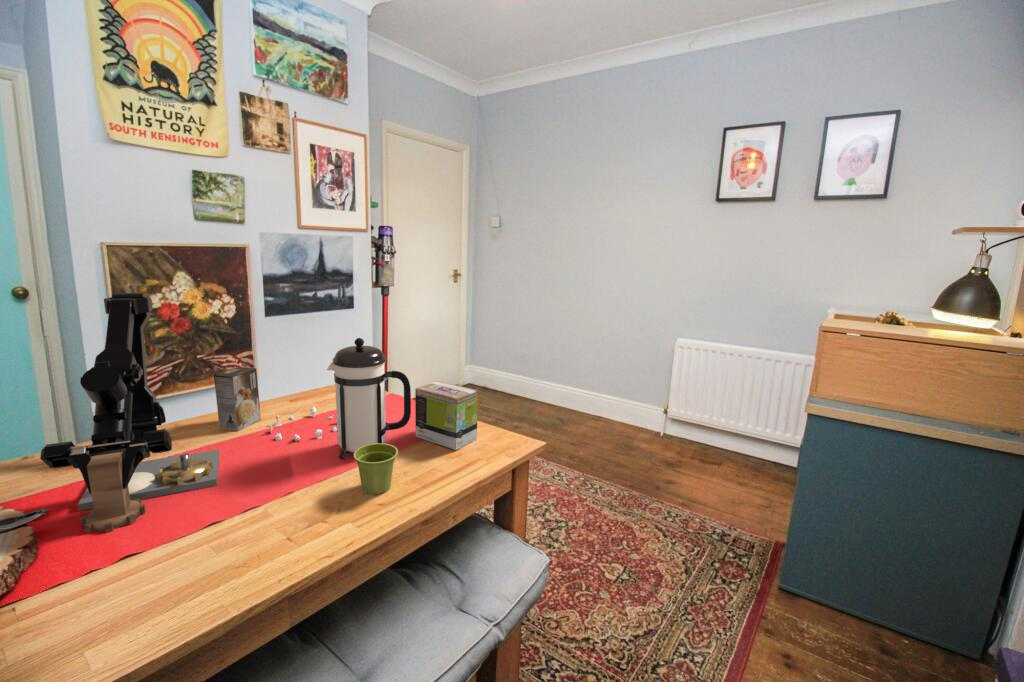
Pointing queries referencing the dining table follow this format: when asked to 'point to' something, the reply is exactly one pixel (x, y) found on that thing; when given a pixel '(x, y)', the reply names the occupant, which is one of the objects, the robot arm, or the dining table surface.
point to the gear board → (148, 485)
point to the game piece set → (296, 437)
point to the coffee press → (363, 397)
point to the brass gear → (185, 470)
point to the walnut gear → (109, 495)
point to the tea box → (446, 414)
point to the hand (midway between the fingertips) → (108, 490)
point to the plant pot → (376, 466)
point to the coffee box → (237, 398)
